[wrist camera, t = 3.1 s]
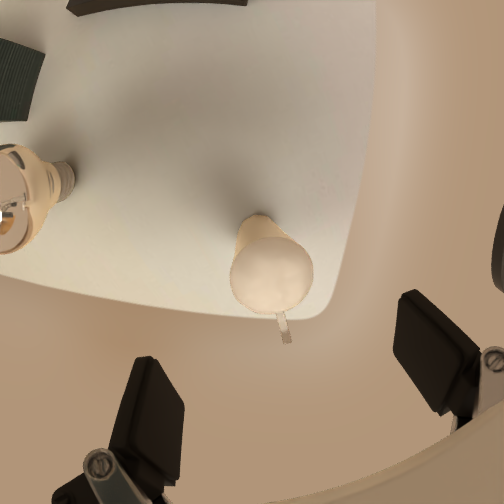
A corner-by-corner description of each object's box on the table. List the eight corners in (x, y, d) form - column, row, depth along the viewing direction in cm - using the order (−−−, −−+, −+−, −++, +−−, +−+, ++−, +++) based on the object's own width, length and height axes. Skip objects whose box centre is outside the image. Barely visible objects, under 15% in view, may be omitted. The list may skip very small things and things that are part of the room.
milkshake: (239, 273, 23) (246, 352, 14) (223, 213, 21) (219, 264, 12) (291, 261, 23) (328, 333, 14) (280, 200, 21) (319, 241, 12)
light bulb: (86, 229, 21) (-1, 294, 9) (34, 201, 19) (-56, 243, 8) (110, 154, 19) (8, 169, 7) (53, 131, 17) (-48, 137, 6)
